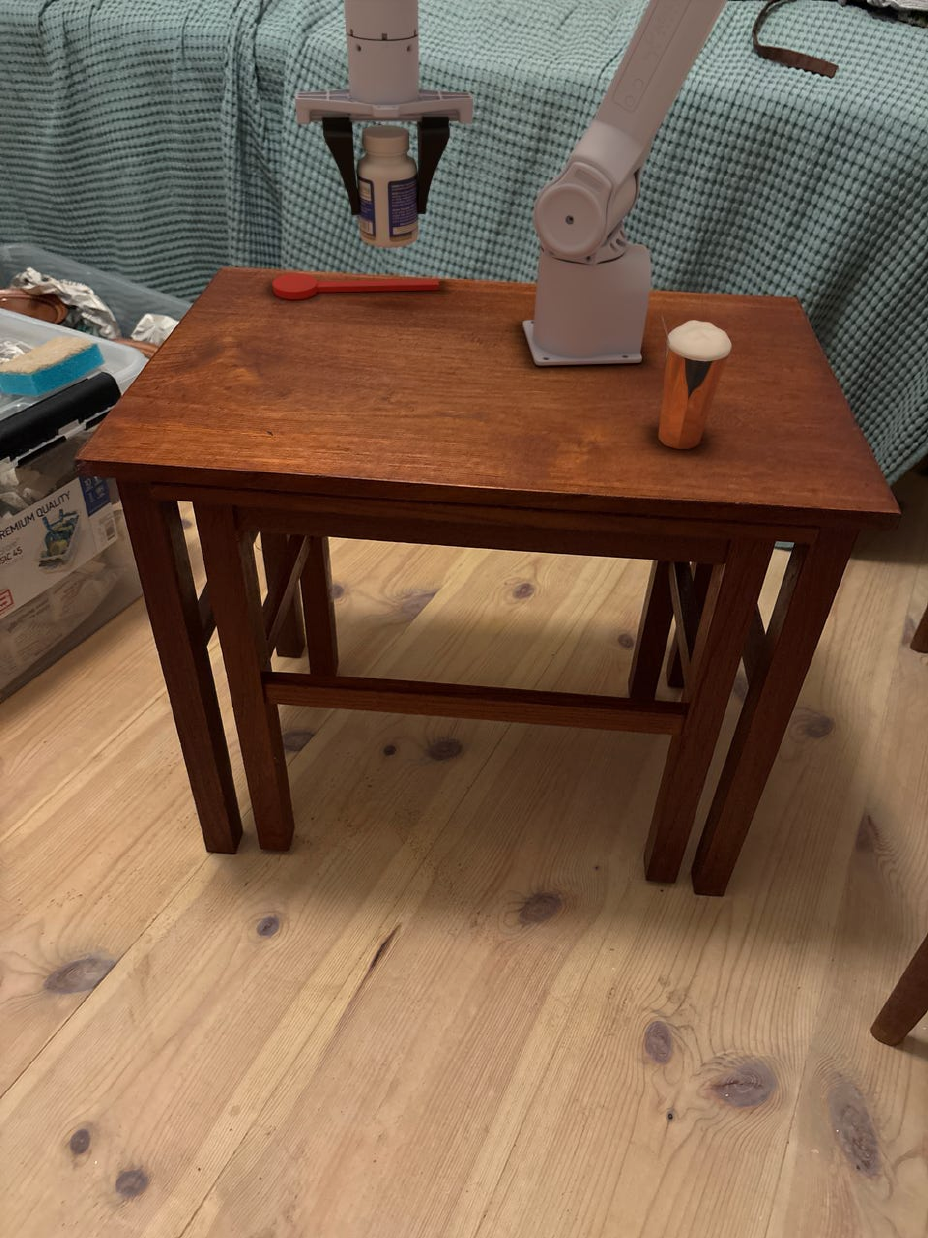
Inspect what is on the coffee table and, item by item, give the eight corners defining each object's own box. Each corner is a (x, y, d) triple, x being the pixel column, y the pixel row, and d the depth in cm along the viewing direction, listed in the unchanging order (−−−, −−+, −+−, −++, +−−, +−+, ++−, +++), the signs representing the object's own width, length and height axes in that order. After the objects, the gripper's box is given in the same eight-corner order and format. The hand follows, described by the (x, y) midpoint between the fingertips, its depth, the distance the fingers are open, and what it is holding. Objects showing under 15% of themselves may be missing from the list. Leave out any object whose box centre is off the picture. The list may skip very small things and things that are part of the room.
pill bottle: (421, 228, 85) (421, 123, 79) (414, 250, 82) (413, 142, 76) (365, 225, 86) (360, 120, 80) (354, 247, 82) (349, 138, 76)
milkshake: (633, 423, 73) (654, 302, 67) (699, 422, 74) (727, 302, 67) (646, 455, 70) (669, 331, 63) (714, 454, 71) (745, 330, 64)
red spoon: (436, 278, 93) (436, 270, 93) (440, 296, 90) (440, 288, 89) (274, 281, 92) (273, 273, 91) (272, 300, 88) (271, 291, 88)
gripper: (288, 43, 69) (304, 228, 78) (479, 44, 71) (473, 225, 80) (290, 23, 74) (306, 199, 84) (469, 25, 76) (464, 197, 85)
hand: (387, 210), depth 82 cm, fingers closed on pill bottle, 5 cm apart
